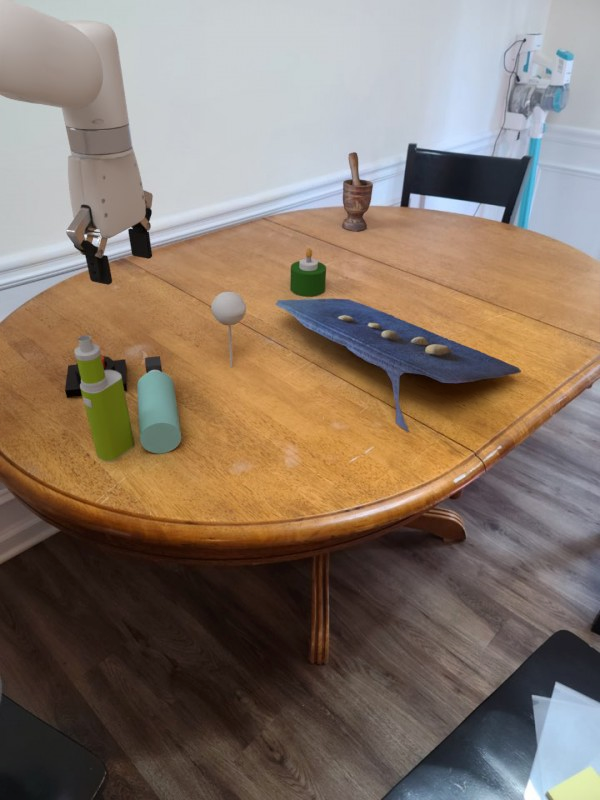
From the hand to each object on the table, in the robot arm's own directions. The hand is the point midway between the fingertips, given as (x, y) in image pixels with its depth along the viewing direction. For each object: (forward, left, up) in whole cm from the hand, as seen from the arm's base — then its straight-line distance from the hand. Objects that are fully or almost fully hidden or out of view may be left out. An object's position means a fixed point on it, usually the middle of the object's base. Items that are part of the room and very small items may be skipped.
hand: (122, 268), depth 81 cm
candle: (+39, +39, -25) cm, 61 cm away
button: (-8, +9, -22) cm, 25 cm away
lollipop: (+16, +9, -25) cm, 31 cm away
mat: (+45, +6, -25) cm, 52 cm away
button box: (-8, +9, -25) cm, 27 cm away
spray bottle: (+2, -13, -22) cm, 25 cm away
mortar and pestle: (+64, +80, -25) cm, 106 cm away
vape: (-5, -10, -25) cm, 27 cm away
